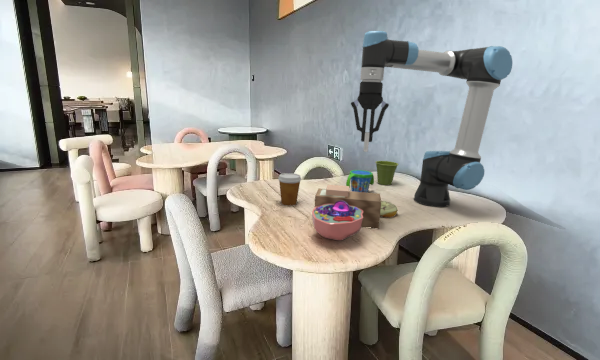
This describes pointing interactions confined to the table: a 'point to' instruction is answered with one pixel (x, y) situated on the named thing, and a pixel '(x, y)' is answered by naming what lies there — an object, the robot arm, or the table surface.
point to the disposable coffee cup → (289, 188)
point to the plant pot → (385, 172)
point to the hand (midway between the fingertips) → (365, 151)
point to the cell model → (337, 220)
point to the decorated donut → (388, 209)
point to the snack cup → (360, 180)
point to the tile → (337, 190)
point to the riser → (356, 204)
